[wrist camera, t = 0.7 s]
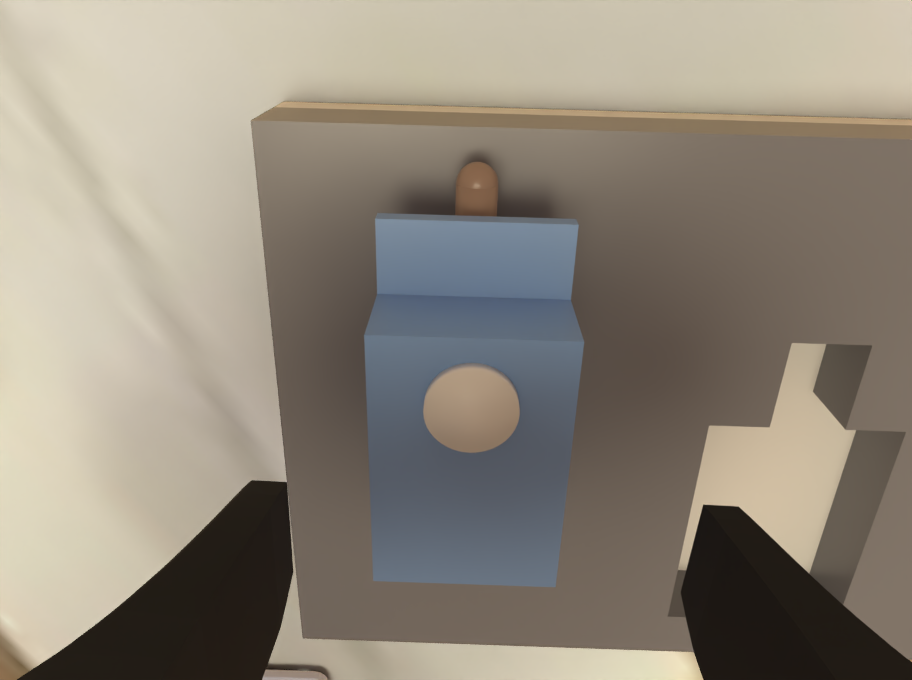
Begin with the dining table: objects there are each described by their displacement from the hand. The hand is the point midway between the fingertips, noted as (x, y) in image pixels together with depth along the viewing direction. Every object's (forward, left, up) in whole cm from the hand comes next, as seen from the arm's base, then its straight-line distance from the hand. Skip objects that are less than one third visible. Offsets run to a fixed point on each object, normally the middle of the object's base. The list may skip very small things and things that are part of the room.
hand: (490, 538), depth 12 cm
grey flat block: (+6, -2, -9) cm, 11 cm away
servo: (0, 0, -6) cm, 6 cm away
